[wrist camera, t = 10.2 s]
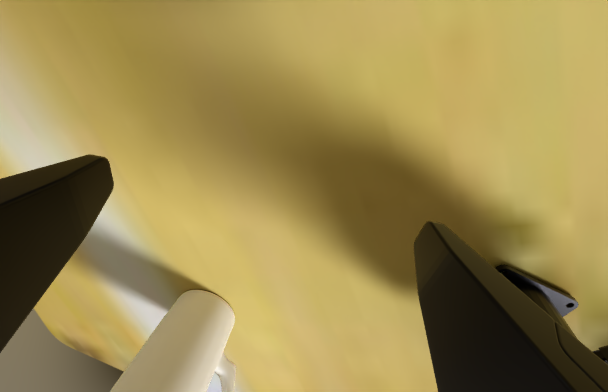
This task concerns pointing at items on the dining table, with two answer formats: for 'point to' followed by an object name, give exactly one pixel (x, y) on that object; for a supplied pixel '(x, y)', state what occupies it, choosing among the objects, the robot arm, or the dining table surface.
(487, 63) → the dining table surface
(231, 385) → the mug
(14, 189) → the robot arm
